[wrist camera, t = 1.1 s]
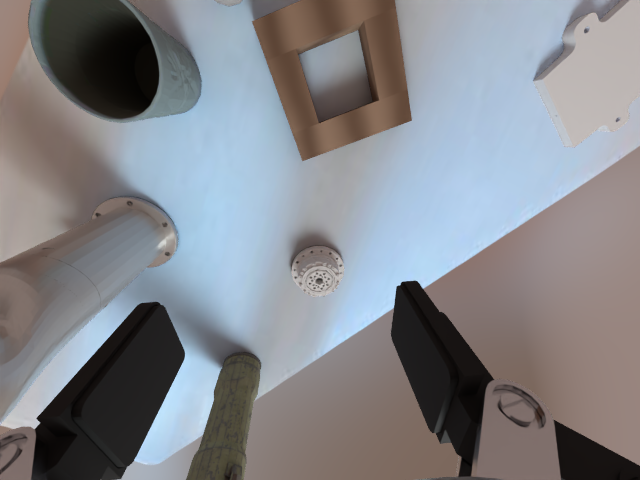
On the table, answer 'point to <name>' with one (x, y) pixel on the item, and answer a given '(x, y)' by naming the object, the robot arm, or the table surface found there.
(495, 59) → the table surface
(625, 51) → the mounting plate
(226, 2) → the salt shaker
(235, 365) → the green textured column
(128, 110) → the green embossed cup
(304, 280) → the mechanical component
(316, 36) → the holder board
